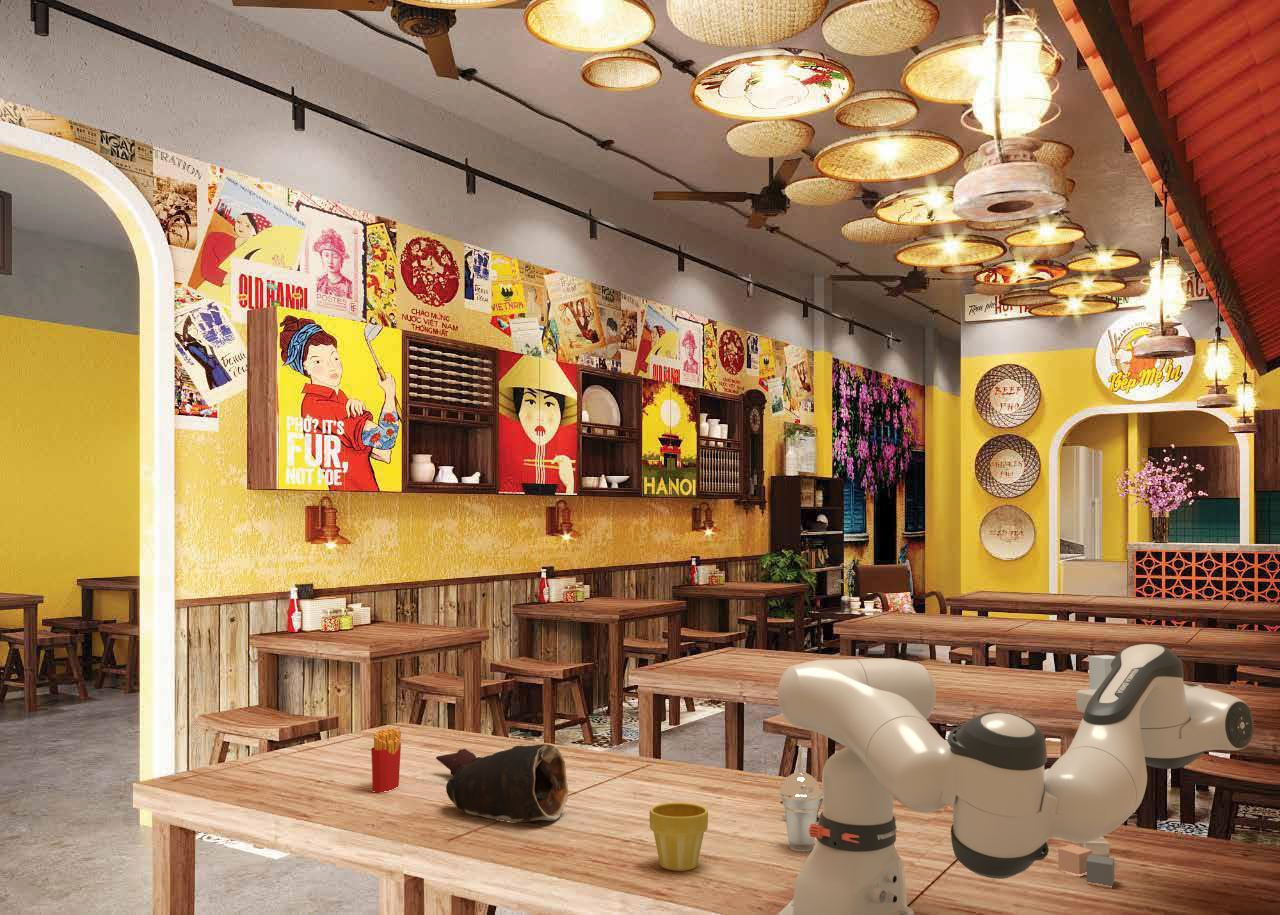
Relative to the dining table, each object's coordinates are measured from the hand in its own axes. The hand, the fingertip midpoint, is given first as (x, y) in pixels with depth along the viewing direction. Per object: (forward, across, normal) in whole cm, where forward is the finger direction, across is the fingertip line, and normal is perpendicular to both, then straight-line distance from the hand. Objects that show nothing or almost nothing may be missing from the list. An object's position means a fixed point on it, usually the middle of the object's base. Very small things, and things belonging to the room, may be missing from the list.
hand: (1103, 693), depth 188 cm
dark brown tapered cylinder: (+64, -96, -31) cm, 119 cm away
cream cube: (+5, +2, -31) cm, 32 cm away
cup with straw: (+27, -46, -31) cm, 62 cm away
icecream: (+96, -100, -31) cm, 143 cm away
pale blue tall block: (-1, 0, -10) cm, 10 cm away
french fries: (+91, -118, -31) cm, 152 cm away
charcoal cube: (-4, -5, -31) cm, 32 cm away
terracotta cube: (+2, -5, -31) cm, 32 cm away
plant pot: (+24, -71, -31) cm, 81 cm away
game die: (+44, -37, -31) cm, 65 cm away
